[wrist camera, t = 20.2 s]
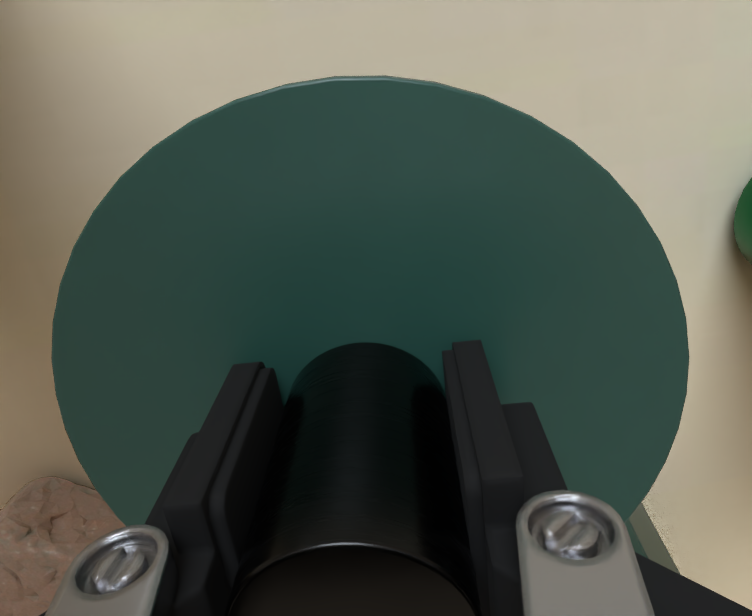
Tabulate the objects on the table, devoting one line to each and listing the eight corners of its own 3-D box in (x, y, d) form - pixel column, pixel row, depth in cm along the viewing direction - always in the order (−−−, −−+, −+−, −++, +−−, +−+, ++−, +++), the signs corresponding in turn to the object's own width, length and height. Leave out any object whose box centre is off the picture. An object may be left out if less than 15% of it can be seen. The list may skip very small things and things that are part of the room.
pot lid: (-51, 262, 12) (-445, 452, 6) (538, -73, 9) (759, -256, 4) (271, 647, 16) (209, 960, 11) (731, 488, 14) (966, 790, 8)
